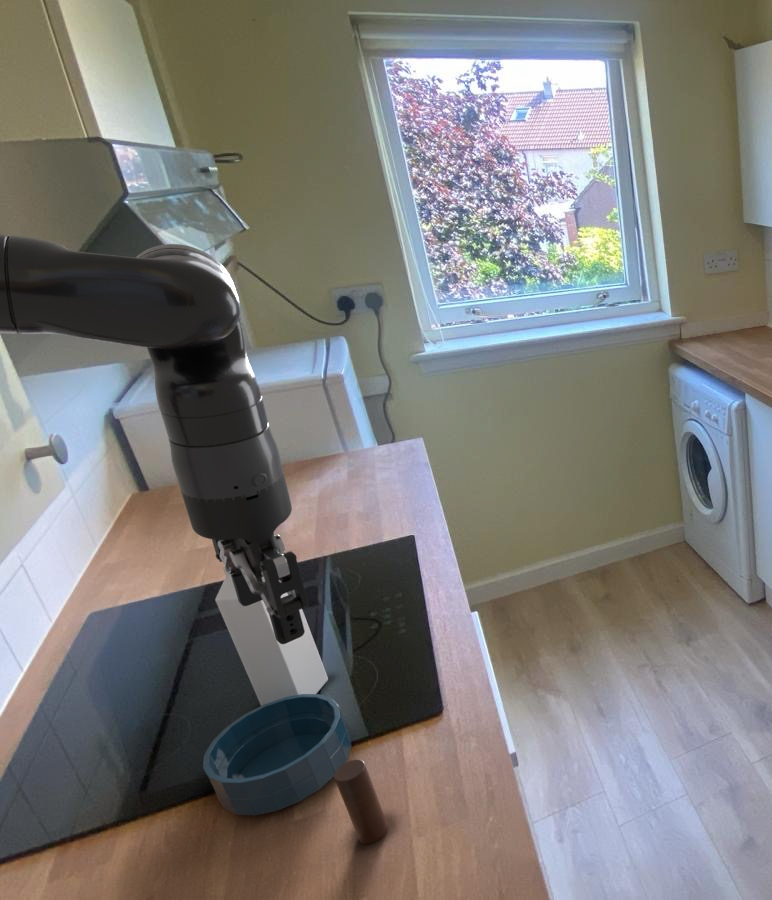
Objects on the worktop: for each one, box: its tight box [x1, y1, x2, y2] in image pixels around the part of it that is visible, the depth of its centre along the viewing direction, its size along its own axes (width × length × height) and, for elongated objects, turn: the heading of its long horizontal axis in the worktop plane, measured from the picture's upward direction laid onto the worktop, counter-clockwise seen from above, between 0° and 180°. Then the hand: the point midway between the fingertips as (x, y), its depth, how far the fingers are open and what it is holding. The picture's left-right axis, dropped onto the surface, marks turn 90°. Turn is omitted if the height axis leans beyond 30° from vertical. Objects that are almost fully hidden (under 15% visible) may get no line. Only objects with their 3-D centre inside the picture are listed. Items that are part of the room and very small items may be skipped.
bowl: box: [202, 693, 352, 816], centre depth 92 cm, size 14×14×6 cm
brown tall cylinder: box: [333, 759, 389, 845], centre depth 83 cm, size 3×3×10 cm
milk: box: [214, 565, 329, 706], centre depth 101 cm, size 6×6×22 cm
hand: (272, 619), depth 73 cm, fingers open, 8 cm apart
